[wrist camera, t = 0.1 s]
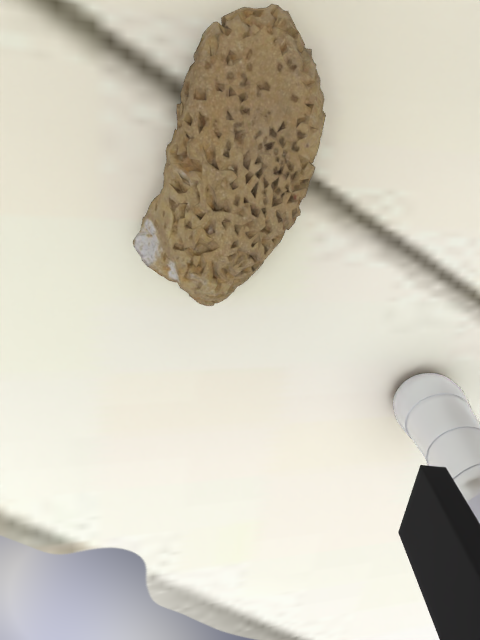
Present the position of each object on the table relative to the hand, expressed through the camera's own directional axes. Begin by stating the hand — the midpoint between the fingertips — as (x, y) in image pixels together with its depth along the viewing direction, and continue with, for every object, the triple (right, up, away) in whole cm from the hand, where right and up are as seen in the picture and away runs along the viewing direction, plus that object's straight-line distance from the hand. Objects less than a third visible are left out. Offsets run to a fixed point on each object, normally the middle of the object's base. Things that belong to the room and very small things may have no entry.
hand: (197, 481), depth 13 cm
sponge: (+1, +18, +23) cm, 29 cm away
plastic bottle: (+20, -3, +32) cm, 37 cm away
